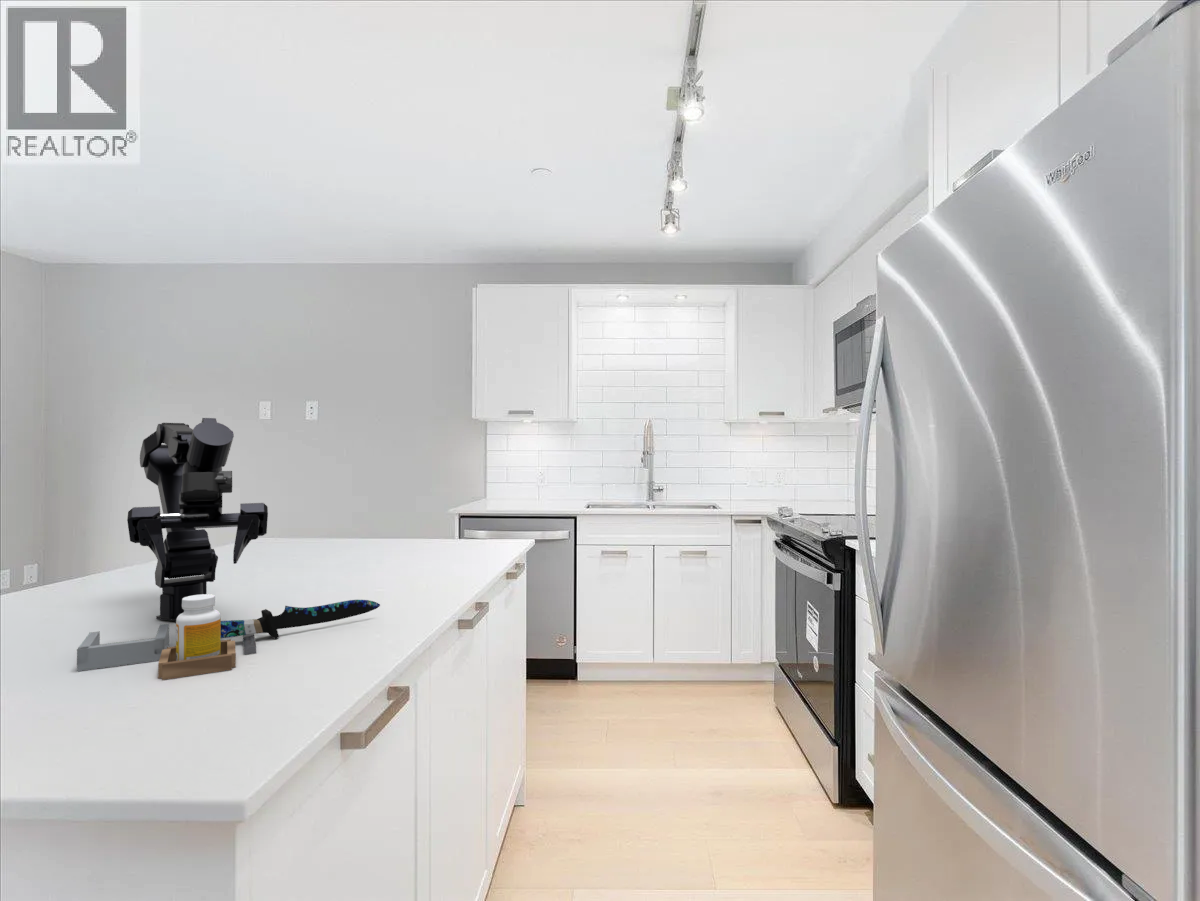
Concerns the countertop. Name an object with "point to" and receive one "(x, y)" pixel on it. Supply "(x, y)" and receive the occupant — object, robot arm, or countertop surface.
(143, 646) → the tray
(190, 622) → the supplement bottle
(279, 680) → the countertop surface
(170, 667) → the socket collar
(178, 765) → the countertop surface
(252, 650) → the bar
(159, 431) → the robot arm
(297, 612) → the knife
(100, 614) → the countertop surface
